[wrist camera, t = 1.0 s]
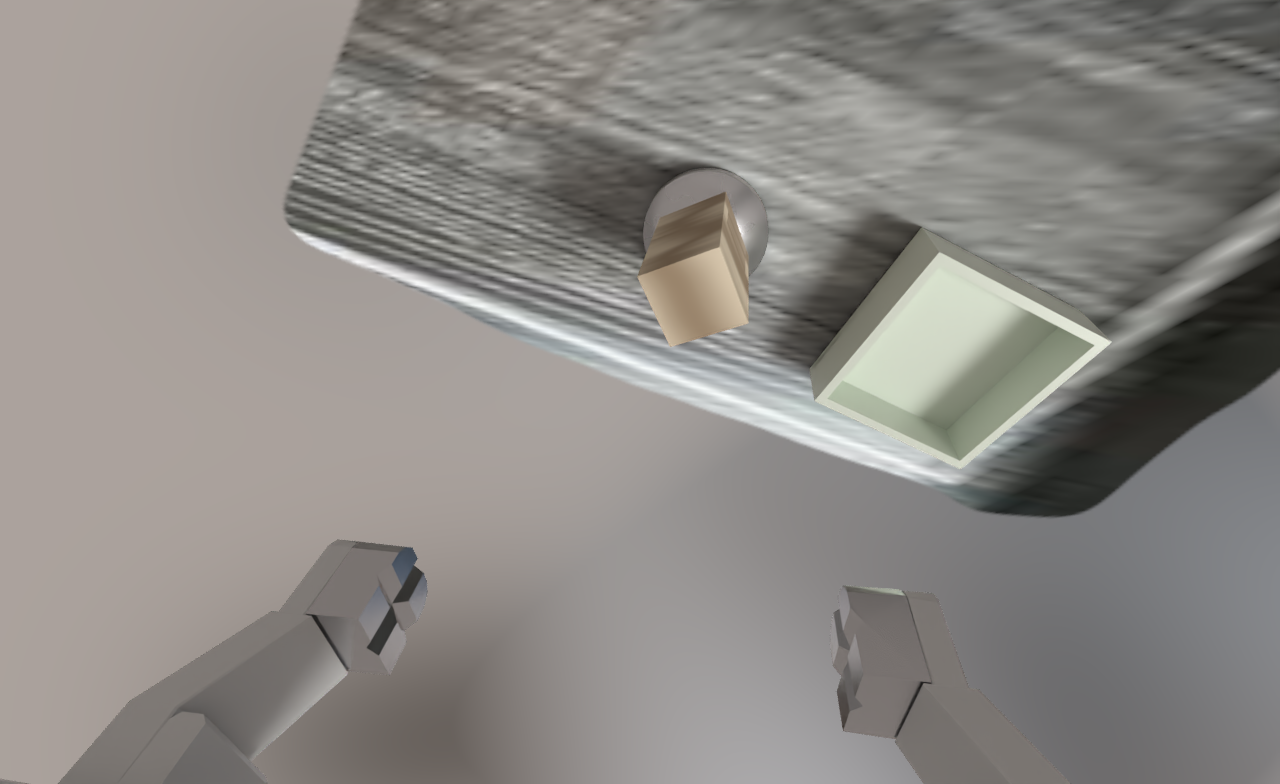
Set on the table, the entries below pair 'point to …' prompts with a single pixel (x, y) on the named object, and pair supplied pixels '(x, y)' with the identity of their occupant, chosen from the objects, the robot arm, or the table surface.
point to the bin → (951, 351)
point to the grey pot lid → (704, 186)
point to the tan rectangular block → (697, 271)
